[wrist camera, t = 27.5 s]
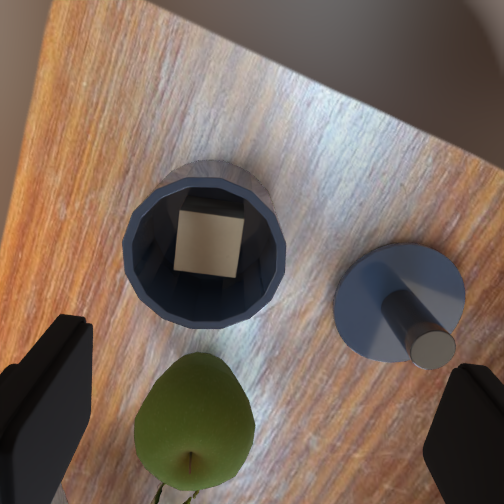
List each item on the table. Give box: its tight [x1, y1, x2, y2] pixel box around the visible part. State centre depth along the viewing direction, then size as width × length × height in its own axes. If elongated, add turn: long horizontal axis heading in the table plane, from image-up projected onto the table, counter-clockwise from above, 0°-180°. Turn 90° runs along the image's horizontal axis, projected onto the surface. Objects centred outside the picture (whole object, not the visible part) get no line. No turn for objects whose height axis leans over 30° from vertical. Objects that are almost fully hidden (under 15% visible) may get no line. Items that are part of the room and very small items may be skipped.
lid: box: [333, 243, 465, 370], centre depth 33 cm, size 11×11×8 cm
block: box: [174, 196, 245, 278], centre depth 31 cm, size 4×4×4 cm
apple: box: [134, 352, 256, 491], centre depth 33 cm, size 9×8×12 cm
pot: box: [122, 160, 286, 329], centre depth 30 cm, size 10×10×8 cm
